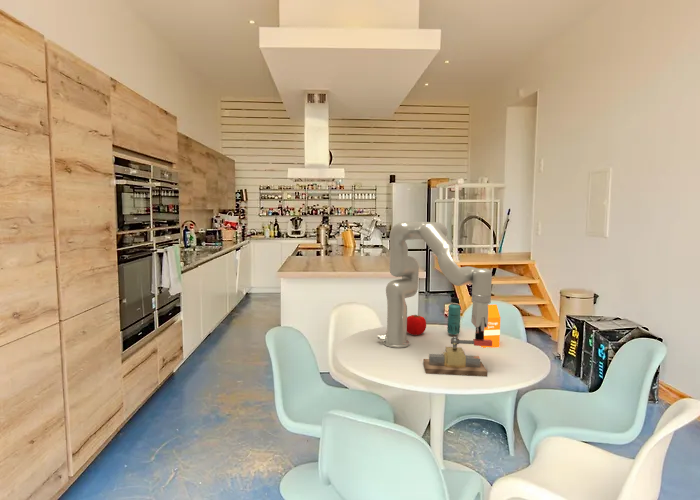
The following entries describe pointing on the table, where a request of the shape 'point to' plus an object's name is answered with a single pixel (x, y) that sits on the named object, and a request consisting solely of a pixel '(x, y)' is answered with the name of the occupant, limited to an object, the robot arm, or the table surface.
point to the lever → (472, 341)
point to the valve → (454, 358)
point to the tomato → (416, 324)
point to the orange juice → (493, 326)
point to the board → (454, 370)
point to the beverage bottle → (454, 317)
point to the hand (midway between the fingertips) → (479, 342)
